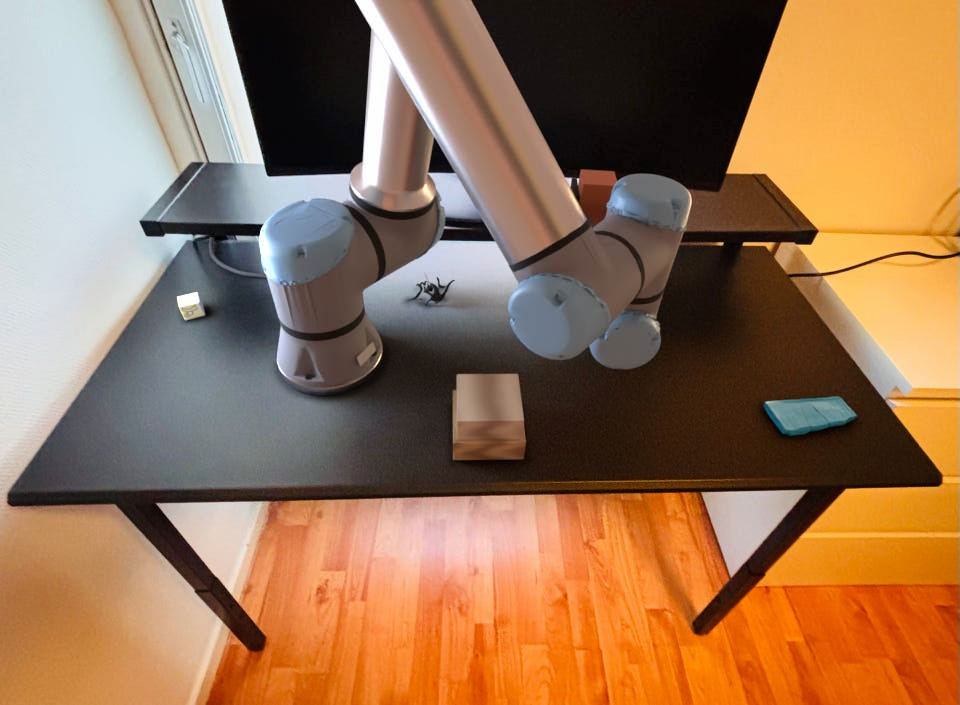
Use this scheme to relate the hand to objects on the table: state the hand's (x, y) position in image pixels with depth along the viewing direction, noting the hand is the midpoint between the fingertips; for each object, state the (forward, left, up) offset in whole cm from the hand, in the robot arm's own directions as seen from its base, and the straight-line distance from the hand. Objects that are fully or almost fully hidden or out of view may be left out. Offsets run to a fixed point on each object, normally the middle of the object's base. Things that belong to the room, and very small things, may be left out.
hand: (591, 187), depth 84 cm
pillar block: (+4, -3, -6) cm, 8 cm away
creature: (-10, -24, -19) cm, 33 cm away
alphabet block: (-26, -59, -19) cm, 68 cm away
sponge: (+42, +8, -19) cm, 47 cm away
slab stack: (+20, -32, -19) cm, 43 cm away
